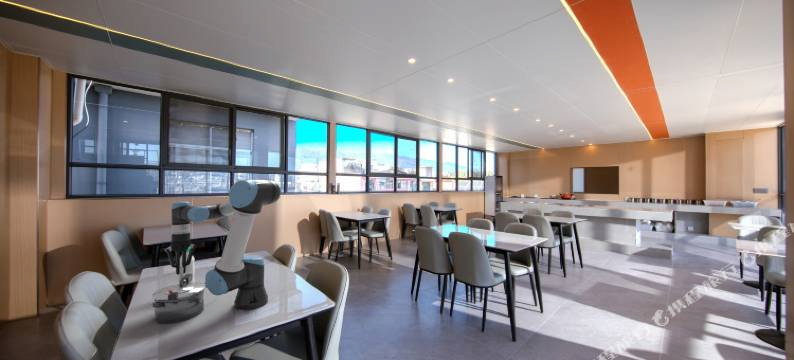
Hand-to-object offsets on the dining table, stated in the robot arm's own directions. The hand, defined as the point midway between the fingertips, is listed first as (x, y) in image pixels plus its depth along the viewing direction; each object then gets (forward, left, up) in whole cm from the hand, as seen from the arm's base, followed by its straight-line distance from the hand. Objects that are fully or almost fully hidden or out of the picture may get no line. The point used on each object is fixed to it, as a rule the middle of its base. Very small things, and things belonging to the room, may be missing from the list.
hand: (180, 280), depth 144 cm
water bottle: (+12, -14, -12) cm, 23 cm away
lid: (-8, +7, -2) cm, 11 cm away
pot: (-10, +6, -12) cm, 17 cm away
